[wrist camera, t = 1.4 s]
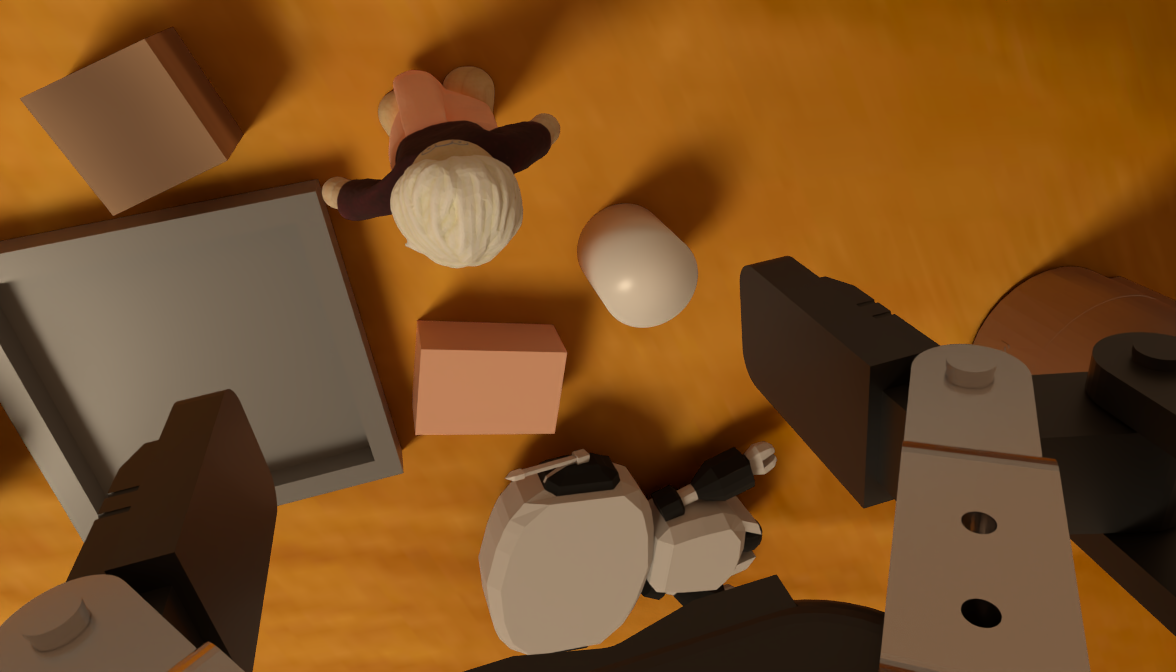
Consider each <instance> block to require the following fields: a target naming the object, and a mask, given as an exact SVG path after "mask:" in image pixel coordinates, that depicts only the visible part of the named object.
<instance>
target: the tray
mask: <svg viewBox="0 0 1176 672" xmlns="http://www.w3.org/2000/svg"><path fill="white" fill-rule="evenodd" d="M226 389H231V390H232V391H234V393H235V394H236V395H237V397H238V398H239V400H240V402H241V404H242V407H243V409H244V411H245V414H246V416H247V418H248V421H249V423H250V425H251V428H252V430H253V432H254V435H255V437H256V439H257V442H258V444H259V446H260V449H261V451H262V453H263V456H264V458H265V460H266V463H267V465H268V467H269V470H270V472H271V475H272V478H273V482H274V486H275V491H276V497H277V506H279V505H282V504H286V503H290V502H294V501H298V500H302V499H305V498H309V497H313V496H317V495H321V494H325V493H328V492H332V491H336V490H340V489H344V488H348V487H352V486H355V485H359V484H363V483H367V482H371V481H375V480H378V479H382V478H386V477H390V476H394V475H398V474H401V473H403V460H402V450H401V447H400V443H399V440H398V437H397V434H396V430H395V427H394V424H393V421H392V417H391V414H390V411H389V408H388V404H387V401H386V398H385V395H384V391H383V388H382V385H381V382H380V378H379V375H378V372H377V369H376V365H375V362H374V359H373V356H372V352H371V349H370V346H369V343H368V339H367V336H366V333H365V330H364V326H363V323H362V320H361V317H360V313H359V310H358V307H357V304H356V300H355V297H354V294H353V291H352V287H351V284H350V281H349V278H348V274H347V271H346V268H345V265H344V261H343V258H342V255H341V252H340V248H339V245H338V242H337V239H336V235H335V232H334V229H333V226H332V222H331V219H330V216H329V213H328V210H327V206H326V203H325V201H324V199H323V196H322V190H321V187H320V184H319V180H318V179H315V180H310V181H305V182H300V183H295V184H290V185H285V186H279V187H274V188H269V189H264V190H259V191H254V192H249V193H244V194H239V195H233V196H228V197H223V198H218V199H213V200H208V201H203V202H198V203H193V204H187V205H182V206H177V207H172V208H167V209H162V210H157V211H152V212H147V213H142V214H136V215H131V216H126V217H121V218H116V219H111V220H106V221H101V222H96V223H90V224H85V225H80V226H75V227H70V228H65V229H60V230H55V231H50V232H44V233H39V234H34V235H29V236H24V237H19V238H14V239H9V240H4V241H0V403H1V405H2V406H3V408H4V410H5V411H6V413H7V415H8V416H9V418H10V420H11V421H12V423H13V425H14V426H15V428H16V430H17V431H18V433H19V435H20V436H21V438H22V440H23V441H24V443H25V445H26V446H27V448H28V450H29V451H30V453H31V455H32V456H33V458H34V460H35V461H36V463H37V465H38V466H39V468H40V470H41V471H42V473H43V475H44V476H45V478H46V480H47V481H48V483H49V485H50V487H51V488H52V490H53V492H54V493H55V495H56V497H57V498H58V500H59V502H60V503H61V505H62V507H63V508H64V510H65V512H66V513H67V515H68V517H69V518H70V520H71V522H72V523H73V525H74V527H75V528H76V530H77V532H78V533H79V535H80V537H81V538H82V540H83V542H85V540H86V538H87V536H88V534H89V532H90V529H91V527H92V525H93V523H94V521H95V520H97V519H98V515H97V514H98V512H99V510H100V508H101V506H102V504H103V502H104V500H105V499H106V498H108V494H107V493H108V491H109V489H110V487H111V485H112V482H113V480H114V478H115V476H116V474H117V472H118V470H119V468H120V467H121V466H122V465H123V464H124V463H125V462H126V461H127V460H128V459H129V458H130V457H131V456H132V455H133V454H134V453H135V452H136V451H137V450H138V449H139V448H140V447H141V446H142V445H143V444H144V443H148V442H152V441H156V440H159V438H160V435H161V433H162V431H163V428H164V426H165V423H166V421H167V419H168V416H169V414H170V411H171V409H172V407H173V405H174V403H175V402H177V401H180V400H185V399H189V398H193V397H197V396H201V395H205V394H210V393H214V392H218V391H222V390H226Z"/></svg>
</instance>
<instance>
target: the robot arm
mask: <svg viewBox="0 0 1176 672" xmlns="http://www.w3.org/2000/svg"><path fill="white" fill-rule="evenodd" d="M740 299H741V321H742V343H743V355H744V360H745V364H746V368H747V371H748V373H749V376H750V378H751V380H752V382H753V383H754V385H755V386H756V387H757V388H758V390H759V391H760V392H761V393H762V394H763V395H764V396H765V398H766V399H767V400H768V401H769V402H770V403H771V404H772V405H773V407H774V408H775V409H776V410H777V411H778V412H779V413H780V414H781V416H782V417H783V418H784V419H785V420H786V421H787V422H788V424H789V425H790V426H791V427H792V428H793V429H794V430H795V431H796V433H797V434H798V435H799V436H800V437H801V438H802V439H803V441H804V442H805V443H806V444H807V445H808V446H809V447H810V448H811V450H812V451H813V452H814V453H815V454H816V455H817V456H818V458H819V459H820V460H821V461H822V462H823V463H824V464H825V465H826V467H827V468H828V469H829V470H830V471H831V472H832V473H833V474H834V476H835V477H836V478H837V479H838V480H839V481H840V482H841V484H842V485H843V486H844V487H845V488H846V489H847V490H848V491H849V493H850V494H851V495H852V496H853V497H854V498H855V499H856V501H857V502H858V503H859V504H860V505H861V506H862V507H863V508H867V507H870V506H873V505H877V504H880V503H883V502H887V501H890V500H893V499H895V500H896V511H895V520H894V530H893V540H892V549H891V559H890V569H889V578H888V588H887V598H886V608H885V612H882V611H879V610H876V609H873V608H869V607H865V606H860V605H856V604H851V603H846V602H838V601H830V600H793V599H792V598H791V596H790V595H789V593H788V591H787V590H786V588H785V587H784V585H783V584H782V582H781V581H780V579H779V578H778V576H777V575H773V576H770V577H767V578H764V579H760V580H757V581H754V582H751V583H747V584H744V585H741V586H738V587H735V588H731V589H728V590H725V591H722V592H718V593H715V594H712V595H709V596H706V597H702V598H699V599H696V600H693V601H692V602H690V603H688V604H686V605H685V606H683V607H681V608H680V609H678V610H676V611H674V612H673V613H671V614H669V615H668V616H666V617H664V618H662V619H661V620H659V621H657V622H655V623H654V624H652V625H650V626H649V627H647V628H645V629H643V630H642V631H640V632H638V633H637V634H635V635H633V636H631V637H630V638H628V639H626V640H625V641H623V642H621V643H619V644H617V645H615V646H612V647H608V648H602V649H591V650H579V651H568V652H556V653H545V654H533V655H522V656H512V657H509V658H506V659H503V660H499V661H496V662H493V663H490V664H487V665H483V666H480V667H477V668H474V669H470V670H467V671H464V672H1090V666H1089V659H1088V653H1087V647H1086V640H1085V634H1084V627H1083V621H1082V614H1081V608H1080V601H1079V595H1078V588H1077V582H1076V575H1075V569H1074V562H1073V556H1072V549H1071V543H1070V539H1071V540H1072V541H1073V542H1074V543H1075V544H1077V545H1078V546H1079V547H1080V548H1081V549H1082V550H1083V551H1084V552H1085V553H1086V554H1087V555H1088V556H1089V557H1091V558H1092V559H1093V560H1094V561H1095V562H1096V563H1097V564H1098V565H1099V566H1100V567H1101V568H1102V569H1104V570H1105V571H1106V572H1107V573H1108V574H1109V575H1110V576H1111V577H1112V578H1113V579H1114V580H1115V581H1116V582H1118V583H1119V584H1120V585H1121V586H1122V587H1123V588H1124V589H1125V590H1126V591H1127V592H1128V593H1129V594H1131V595H1132V596H1133V597H1134V598H1135V599H1136V600H1137V601H1138V602H1139V603H1140V604H1141V605H1142V606H1143V607H1145V608H1146V609H1147V610H1148V611H1149V612H1150V613H1151V614H1152V615H1153V616H1154V617H1155V618H1156V619H1158V620H1159V621H1160V622H1161V623H1162V624H1163V625H1164V626H1165V627H1166V628H1167V629H1168V630H1169V631H1170V632H1172V633H1173V634H1174V635H1175V636H1176V301H1175V300H1173V299H1171V298H1169V297H1166V296H1164V295H1162V294H1160V293H1157V292H1155V291H1153V290H1150V289H1148V288H1146V287H1144V286H1141V285H1139V284H1137V283H1134V282H1132V281H1130V280H1128V279H1125V278H1123V277H1121V276H1118V277H1114V278H1108V277H1105V276H1103V275H1101V274H1099V273H1096V272H1094V271H1092V270H1089V269H1085V268H1081V267H1060V268H1056V269H1052V270H1047V271H1045V272H1043V273H1041V274H1038V275H1036V276H1034V277H1032V278H1030V279H1028V280H1027V281H1025V282H1024V283H1022V284H1021V285H1019V286H1018V287H1016V288H1015V289H1014V290H1013V291H1011V292H1010V293H1009V294H1008V295H1007V296H1006V297H1005V298H1004V299H1003V300H1001V301H1000V303H999V304H998V305H997V306H996V307H995V308H994V310H993V311H992V312H991V313H990V314H989V316H988V317H987V319H986V320H985V322H984V323H983V325H982V327H981V328H980V330H979V331H978V334H977V336H976V338H975V341H974V343H973V345H971V344H950V345H943V346H940V345H938V344H937V343H936V342H934V341H933V340H931V339H930V338H928V337H927V336H926V335H924V334H923V333H921V332H920V331H918V330H917V329H915V328H914V327H913V326H911V325H910V324H908V323H907V322H905V321H904V320H903V319H901V318H900V317H898V316H897V315H895V314H893V315H891V311H890V310H888V309H887V308H885V307H884V306H883V305H881V304H880V303H875V302H874V299H873V298H871V297H870V296H868V295H867V294H865V293H864V292H862V291H861V290H860V289H858V288H857V287H855V286H854V285H850V284H847V283H844V282H841V281H838V280H835V279H832V278H829V277H826V276H825V277H821V278H820V277H818V276H817V275H815V274H814V273H813V272H811V271H810V270H809V269H807V268H806V267H805V266H803V265H802V264H800V263H799V262H798V261H796V260H795V259H794V258H792V257H790V256H784V257H780V258H776V259H772V260H768V261H763V262H759V263H755V264H751V265H747V266H744V267H743V269H742V271H741V274H740ZM107 494H108V498H106V499H105V500H104V502H103V504H102V506H101V508H100V510H99V512H98V514H97V515H98V519H97V520H95V521H94V523H93V525H92V527H91V529H90V532H89V534H88V536H87V538H86V540H85V542H84V544H83V546H82V549H81V551H80V553H79V555H78V557H77V559H76V561H75V564H74V566H73V568H72V570H71V572H70V574H69V576H68V578H67V581H66V583H63V584H60V585H58V586H56V587H54V588H52V589H50V590H48V591H46V592H44V593H43V594H41V595H39V596H37V597H36V598H34V599H33V600H31V601H30V602H28V603H27V604H25V605H24V606H23V607H21V608H20V609H19V610H18V611H16V612H15V613H14V614H13V615H12V616H11V617H9V618H8V619H7V620H6V621H5V622H4V623H3V624H2V625H1V627H0V672H252V671H253V665H254V658H255V652H256V645H257V639H258V632H259V626H260V619H261V613H262V607H263V600H264V594H265V587H266V581H267V574H268V568H269V561H270V555H271V548H272V542H273V535H274V529H275V522H276V516H277V497H276V491H275V486H274V482H273V478H272V475H271V472H270V470H269V467H268V465H267V463H266V460H265V458H264V456H263V453H262V451H261V449H260V446H259V444H258V442H257V439H256V437H255V435H254V432H253V430H252V428H251V425H250V423H249V421H248V418H247V416H246V414H245V411H244V409H243V407H242V404H241V402H240V400H239V398H238V397H237V395H236V394H235V393H234V391H232V390H231V389H226V390H222V391H218V392H214V393H210V394H205V395H201V396H197V397H193V398H189V399H185V400H180V401H177V402H175V403H174V405H173V407H172V409H171V411H170V414H169V416H168V419H167V421H166V423H165V426H164V428H163V431H162V433H161V435H160V438H159V440H156V441H152V442H148V443H144V444H143V445H142V446H141V447H140V448H139V449H138V450H137V451H136V452H135V453H134V454H133V455H132V456H131V457H130V458H129V459H128V460H127V461H126V462H125V463H124V464H123V465H122V466H121V467H120V468H119V470H118V472H117V474H116V476H115V478H114V480H113V482H112V485H111V487H110V489H109V491H108V493H107Z"/></svg>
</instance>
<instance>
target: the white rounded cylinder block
mask: <svg viewBox="0 0 1176 672" xmlns="http://www.w3.org/2000/svg"><path fill="white" fill-rule="evenodd" d="M577 256H578V262H579V265H580V267H581V269H582V271H583V273H584V274H585V276H586V277H587V279H588V280H589V282H590V283H591V285H592V287H593V288H594V290H595V291H596V293H597V294H598V296H599V297H600V299H601V300H602V302H603V303H604V305H605V306H606V308H607V309H608V311H609V312H610V313H611V314H612V315H613V316H614V317H615V318H616V319H617V320H619V321H620V322H622V323H624V324H626V325H629V326H633V327H641V328H644V327H653V326H657V325H660V324H663V323H665V322H667V321H669V320H671V319H672V318H674V317H675V316H676V315H678V314H679V313H680V312H681V311H682V310H683V309H684V308H685V307H686V305H687V304H688V302H689V301H690V299H691V298H692V296H693V294H694V291H695V288H696V285H697V279H698V269H697V263H696V260H695V257H694V255H693V253H692V252H691V250H690V249H689V248H688V247H687V245H686V244H685V243H683V242H682V241H681V240H680V239H679V238H678V237H677V236H676V235H675V234H674V233H673V232H672V231H671V230H670V229H669V228H668V227H666V226H665V225H664V224H663V223H662V222H661V221H660V220H659V219H658V218H657V217H656V216H655V215H654V214H653V213H651V212H650V211H649V210H647V209H646V208H644V207H642V206H639V205H636V204H630V203H621V204H615V205H612V206H609V207H607V208H604V209H603V210H601V211H599V212H598V213H597V214H595V215H594V216H593V217H592V218H591V219H590V220H589V221H588V223H587V224H586V225H585V227H584V228H583V230H582V232H581V234H580V237H579V241H578V246H577Z"/></svg>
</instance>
